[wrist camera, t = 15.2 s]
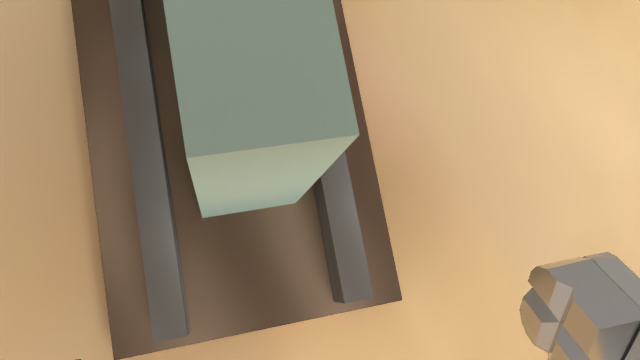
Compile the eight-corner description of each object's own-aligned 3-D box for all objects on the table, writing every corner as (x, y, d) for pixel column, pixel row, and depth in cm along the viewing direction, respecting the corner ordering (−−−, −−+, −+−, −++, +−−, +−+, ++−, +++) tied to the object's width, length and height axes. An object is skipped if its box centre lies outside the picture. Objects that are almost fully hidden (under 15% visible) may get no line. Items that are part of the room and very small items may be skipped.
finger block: (278, 109, 24) (326, -32, 13) (295, 203, 23) (359, 134, 12) (187, 120, 23) (160, -21, 12) (202, 218, 22) (186, 158, 12)
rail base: (320, -52, 27) (399, -316, 15) (391, 299, 25) (556, 313, 13) (73, -38, 25) (-66, -341, 13) (120, 355, 22) (1, 441, 10)
